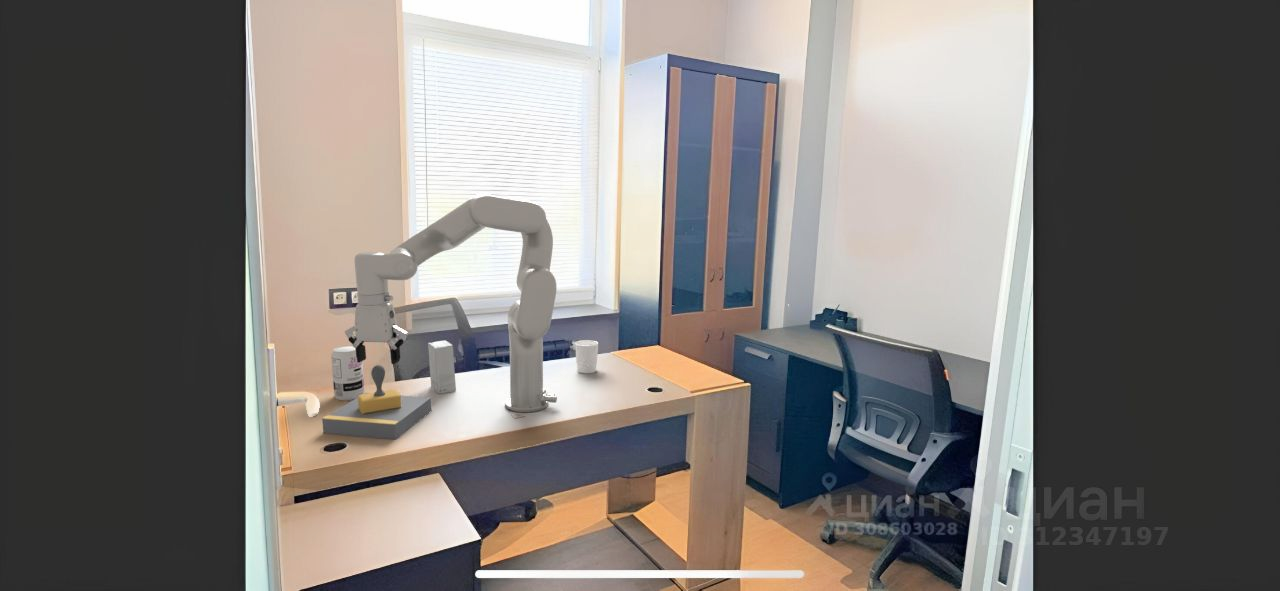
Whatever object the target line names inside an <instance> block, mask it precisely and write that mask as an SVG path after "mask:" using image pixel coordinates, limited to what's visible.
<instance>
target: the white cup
mask: <svg viewBox="0 0 1280 591" xmlns="http://www.w3.org/2000/svg"><path fill="white" fill-rule="evenodd" d="M598 353H599V342H598V341H596V340H590V339H584V340H578V341H576V342H575V363H576V371H577V372H578V373H581V374H594V373H595V372H597V364H598Z"/></svg>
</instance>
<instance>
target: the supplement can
mask: <svg viewBox="0 0 1280 591" xmlns="http://www.w3.org/2000/svg"><path fill="white" fill-rule="evenodd" d="M330 356H331V357H330V358H331V366H332V367H331V369H332V381H333V382H332V384H333V395H334V398H336V399H337V400H338V401H342V400H346V402H348V401H347V400H349V401H353V400H354V399H356V398H358V395H361V394H364V393H365V385H364V384H365V381H364V380H365V379H364V366H363V364H364V362H363V361H362V362H357V358H356V349H355V348H354V347H353V345H342V346H336V347H335V348H333V351H332V352H331V354H330Z"/></svg>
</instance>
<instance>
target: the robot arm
mask: <svg viewBox="0 0 1280 591" xmlns="http://www.w3.org/2000/svg"><path fill="white" fill-rule="evenodd" d="M485 228H488V229H495V230H499V231H500V230H501V231H508V232H515V233H520V234H521V237H522V249H521V254H520V262H519V267H518V272H517V275H516V286H517V288H518V290H519V291H520V292H521V293H520V297H519V298H520V299H519V300H517V301H515V302H514V303H513V304H512V305H511V306H510V308H509V309H508V313H507V327H508V328H507V329H508V338H509V340H508V341H509V373H510V374H509V380H510V382H509V383H510V384H509V386H510V387H509V388H510V389H509V391H510V397H508V398H507V399H505V402H504V406H505V408H506V409H508V410H509V411H513V412H517V413H532V412H539V411H541V410H544V409H545V408H547V407H548V406H549V403H557V401H558V397H557V395H556V394H555V393H548V392H547V388H546V387H544V345H543V344H544V341H543V338H544V336H546V334H547V333H548V331H549V329H550V326H551V323H552V317H553V313H554V306H555V301H556V297H557V296H556V295H557V280H556V278H555V276H554V274H553V273H552V272H551V263H552V256H553V246H554V238H553V231H552V229H551V226H550V223H549V221H548V219H547V214H546V211H545V209H544V208H543V207H542V206H541V205H540V204H538V203H536V202H534V201H531V200H527V199H513V198H506V197H502V196H501V197H500V196H496V195H491V194H488V193H479V194H476V195H473V196H472V197H471V198H469V199H467V200H466V201H465V202H463V203H461V204H460V205H458V206H457V207H455V209H452V210H451V211H450V212H448V213H447V214H445V215H444V216H442V217H441V218H439V219H438V220H437V221H436V220H435V222H433V223H431V224H430V225H428V226H427V227H426V228H424V229H423V230H421V231H419V232H418V233H416V234H415V235H413V236H411V237H410V238H408V239H407V240H405V241H404V242H402V243H400V244H399V245H398V246H396V247H395V248H394V249H392V250H391V251H390V252H389V253H386V254H384V253H383V252H379V251H366V252H363V251H362V252H360V253H356V255H355V256H354V270H355V273H354V274H355V283H356V292H357V296H356V297H357V304H356V306H355V312H354V326H351V327H349V328H348V329H346V330H344V334H345V336H346V337H347V339H348V342H350V343H351V345H352V346H353V347H354V348H355V349H356V358H357V362H362V363H363V362H364V361H365V360H367V353H366V352H367V351H366V345H365V344H364V343H365V342H366V343H383V344H384V343H387V345H388V346H390V348H391V349H390V351H389V352H390V363H391V364H392V365H395V364H397V363H398V362H400V360H401V349H400V348H401V347H402V345H403V344H404V343H405V342H406V340H407V337H408V335H409V333H408V331H406V330H404V329H403V328H400V327H399V326H398V320H397V314H396V311H395V308H394V304H393V303H392V302H391V301H393V300H394V296H393V295H390V292H389V287H388V286H389V284H388V282H389V281H388V280H392V281H407V280H411V278H414V276H415V275H416V274H417V271H418V268H419V266H420V265H422V264H424V263H425V262H426V261H428V260H429V259H430V258H433V257H434V256H436V255H437V254H440V253H442V252H446V251H450V250H453V249H455V248H457V247H459V246H460V245H462V244H463V243H464V242H466V241H467V240H469V239H470V238H471V237H473V236H475V235H476V234H477V233H479V232H481V231H482V230H483V229H485ZM354 332H355V334H354ZM398 337H399V339H398Z"/></svg>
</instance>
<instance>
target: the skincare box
mask: <svg viewBox="0 0 1280 591" xmlns="http://www.w3.org/2000/svg"><path fill="white" fill-rule="evenodd" d="M427 348H428V362H429V373H430V376H429V377H430V386H431V388H432V389H433V390H434V391H435V392H436V394H439V395H440V394H445V393H451V392H456V391H457V386H456V372H455V371H456V370H455V359H454V346H453V344H452V343H451V342H449V341H447V340H446V339H445V340H437V341H433V342H428V343H427Z"/></svg>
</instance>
